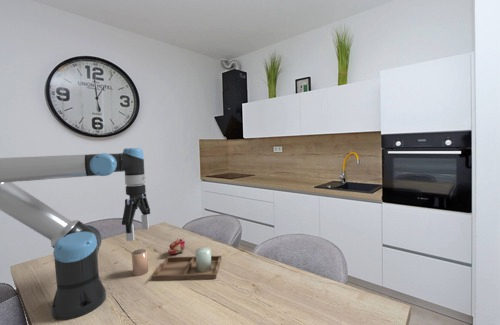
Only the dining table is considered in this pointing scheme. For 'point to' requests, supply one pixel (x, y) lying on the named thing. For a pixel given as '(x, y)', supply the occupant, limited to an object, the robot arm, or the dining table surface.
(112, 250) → the dining table surface
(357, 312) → the dining table surface
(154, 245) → the dining table surface
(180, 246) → the flower
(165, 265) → the wooden divided tray
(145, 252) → the pink cylinder
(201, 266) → the pale green rounded cylinder
